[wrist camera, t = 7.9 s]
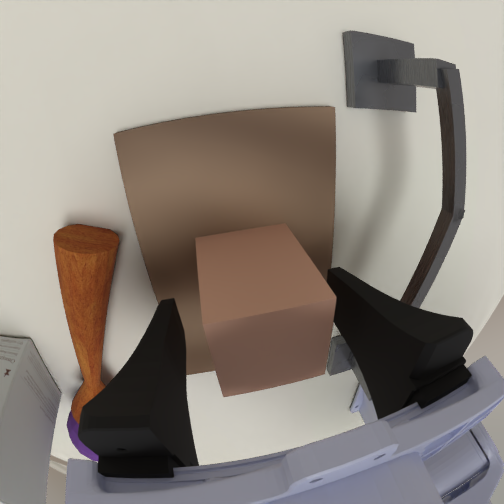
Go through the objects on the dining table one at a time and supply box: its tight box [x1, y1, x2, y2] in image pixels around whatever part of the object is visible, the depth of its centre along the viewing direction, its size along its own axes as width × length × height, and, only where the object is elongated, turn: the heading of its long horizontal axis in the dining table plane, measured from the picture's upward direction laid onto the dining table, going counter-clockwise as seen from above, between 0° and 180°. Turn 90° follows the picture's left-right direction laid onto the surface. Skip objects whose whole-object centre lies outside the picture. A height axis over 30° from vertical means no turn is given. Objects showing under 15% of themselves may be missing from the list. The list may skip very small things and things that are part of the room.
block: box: [195, 223, 337, 397], centre depth 13 cm, size 4×4×6 cm
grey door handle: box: [327, 31, 466, 401], centre depth 15 cm, size 24×4×5 cm, turn 5°
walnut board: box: [114, 106, 336, 375], centre depth 16 cm, size 16×10×1 cm, turn 5°
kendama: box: [53, 224, 120, 461], centre depth 16 cm, size 6×6×20 cm
